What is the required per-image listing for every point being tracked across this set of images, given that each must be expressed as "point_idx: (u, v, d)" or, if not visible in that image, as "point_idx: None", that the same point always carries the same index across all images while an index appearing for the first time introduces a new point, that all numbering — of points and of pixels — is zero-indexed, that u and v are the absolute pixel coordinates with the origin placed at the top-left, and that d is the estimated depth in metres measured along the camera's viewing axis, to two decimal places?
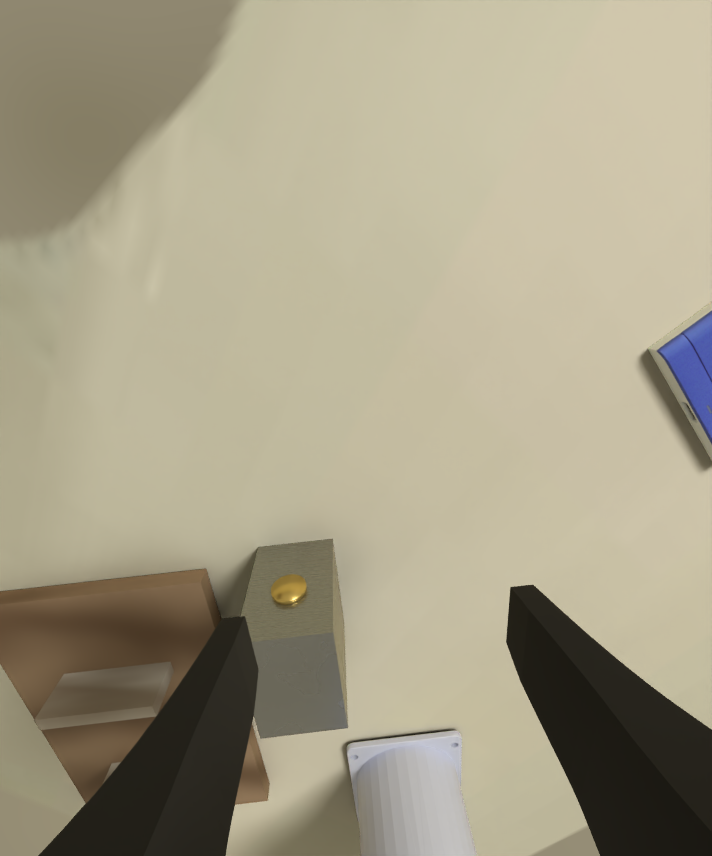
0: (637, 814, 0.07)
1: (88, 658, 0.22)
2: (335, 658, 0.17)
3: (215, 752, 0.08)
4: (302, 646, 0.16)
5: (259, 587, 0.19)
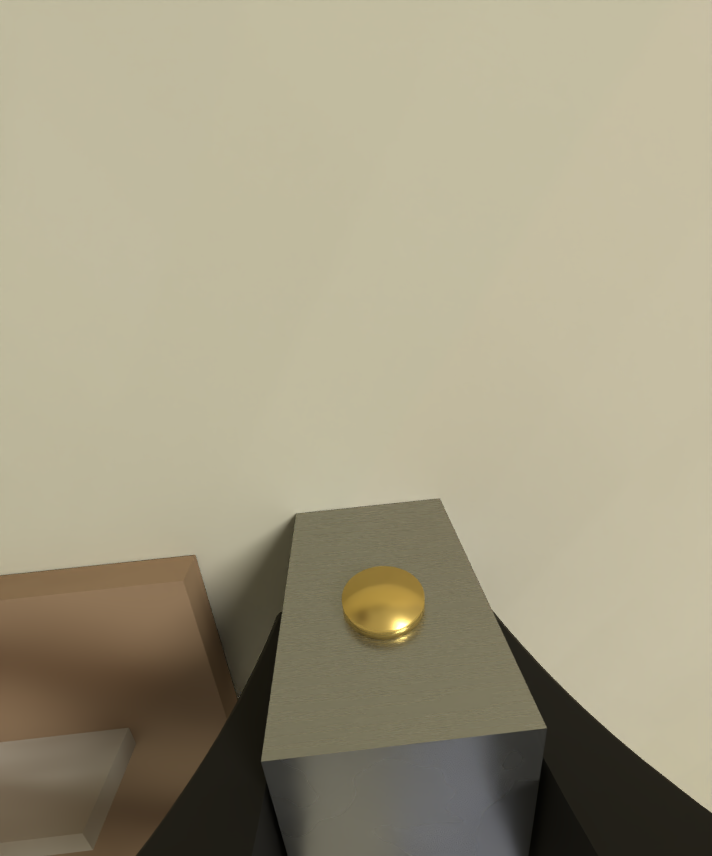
0: (545, 825, 0.07)
1: None
2: (531, 791, 0.06)
3: None
4: (454, 762, 0.06)
5: (311, 595, 0.08)
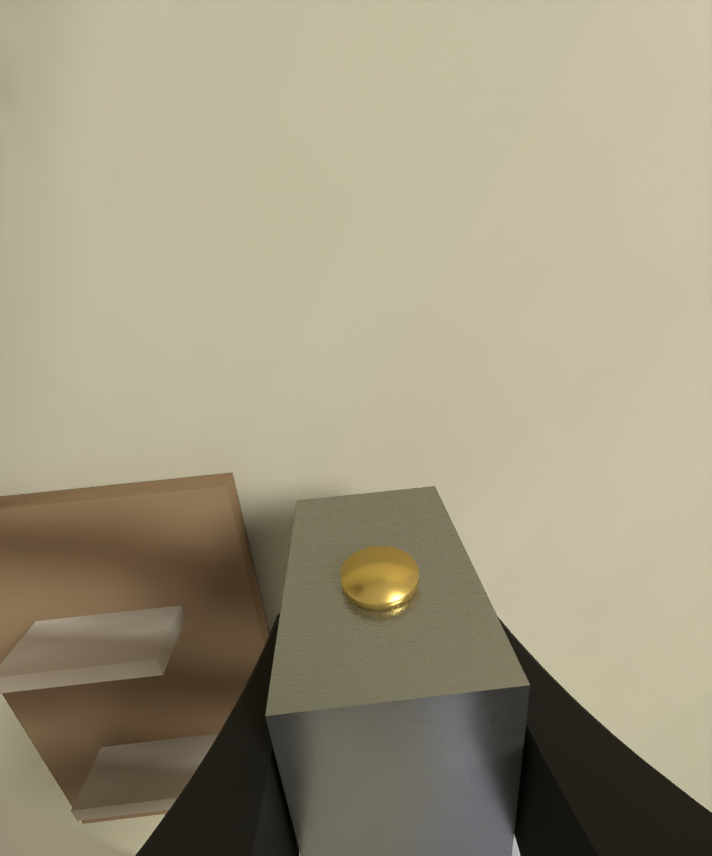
0: (545, 825, 0.07)
1: (68, 599, 0.16)
2: (516, 747, 0.07)
3: None
4: (444, 718, 0.06)
5: (311, 572, 0.09)
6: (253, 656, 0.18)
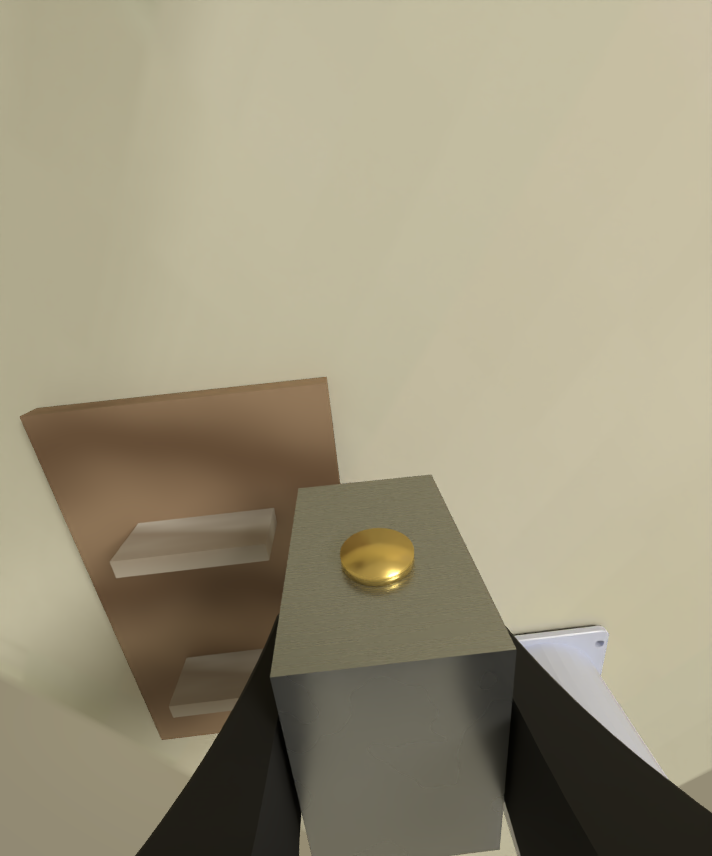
0: (545, 825, 0.07)
1: (171, 500, 0.17)
2: (505, 711, 0.07)
3: None
4: (437, 681, 0.07)
5: (312, 553, 0.09)
6: None
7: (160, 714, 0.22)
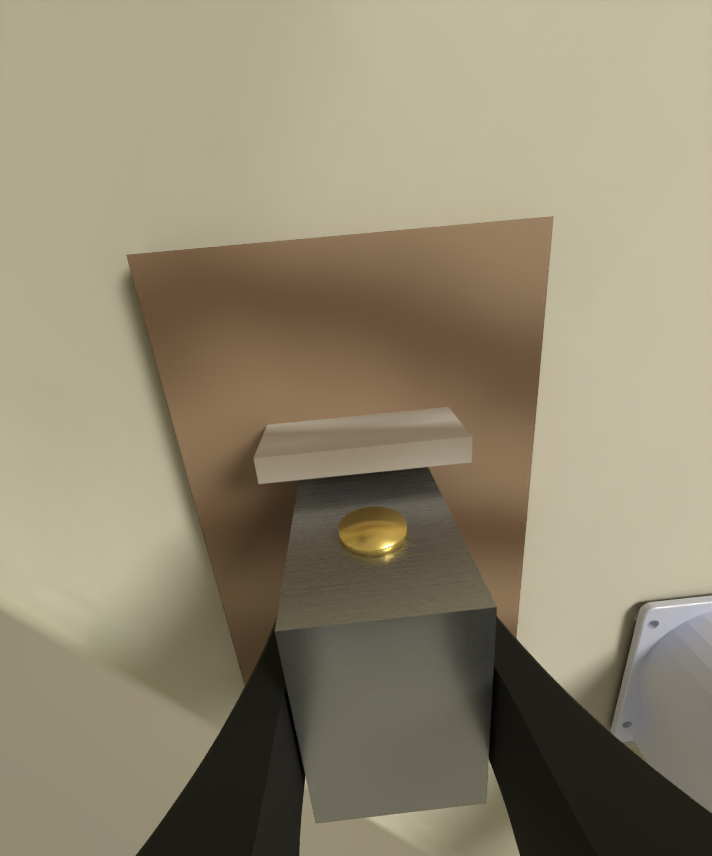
0: (544, 825, 0.07)
1: (315, 391, 0.13)
2: (488, 667, 0.08)
3: (290, 743, 0.08)
4: (426, 637, 0.07)
5: (313, 529, 0.10)
6: (513, 488, 0.15)
7: None
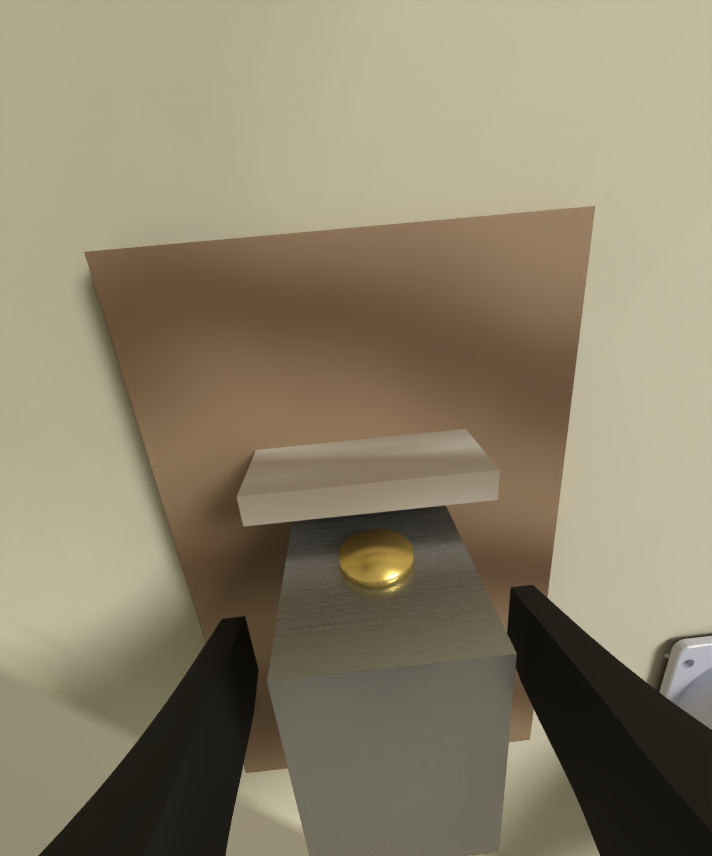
0: (637, 814, 0.07)
1: (311, 412, 0.11)
2: (505, 716, 0.07)
3: (215, 752, 0.08)
4: (436, 686, 0.07)
5: (311, 554, 0.09)
6: (538, 520, 0.13)
7: (249, 738, 0.16)
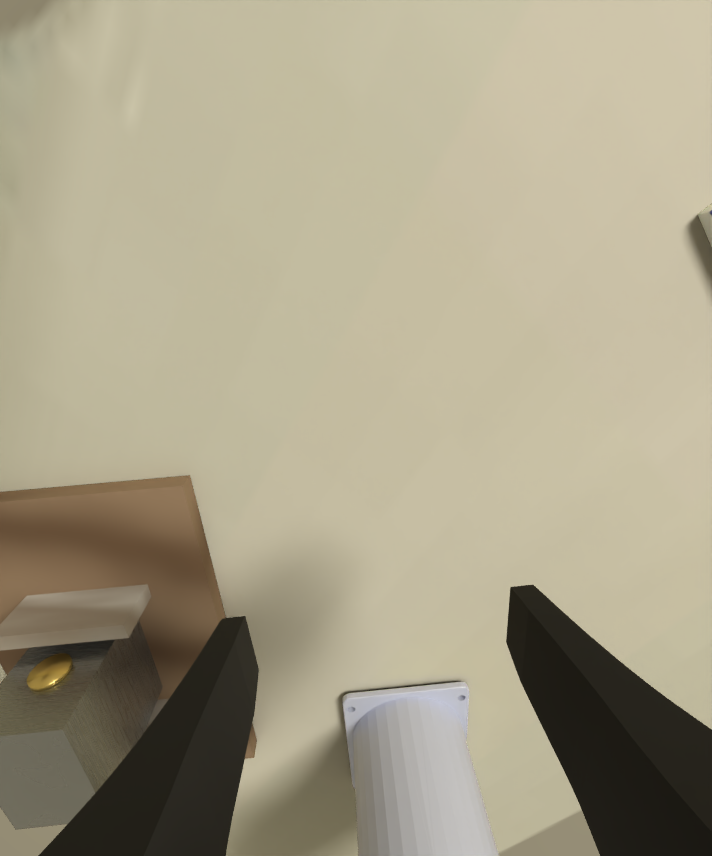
0: (637, 814, 0.07)
1: (54, 577, 0.20)
2: (72, 754, 0.16)
3: (215, 752, 0.08)
4: (32, 742, 0.15)
5: (25, 667, 0.18)
6: (209, 629, 0.22)
7: None
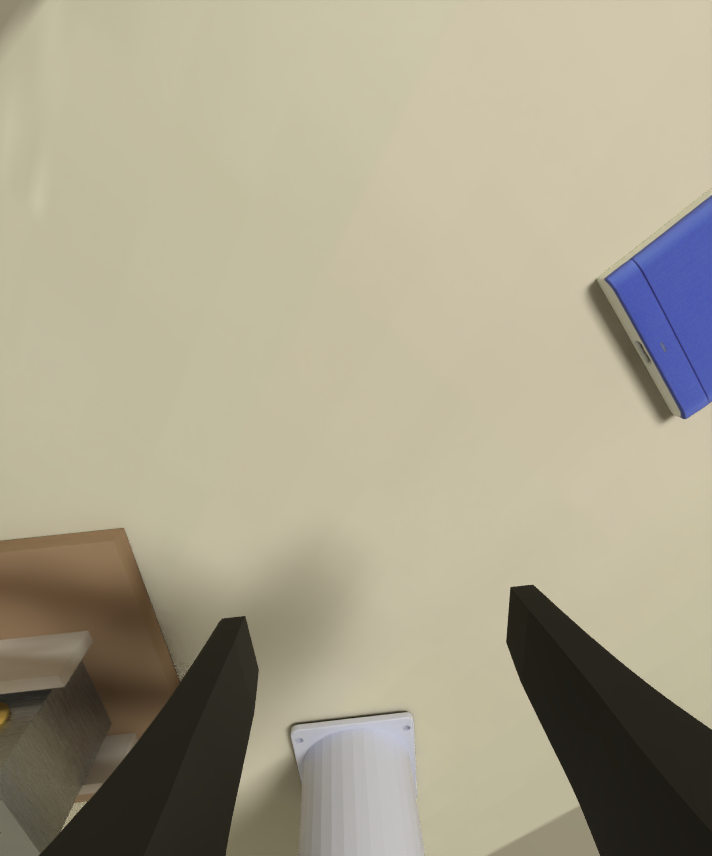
0: (637, 814, 0.07)
1: None
2: (2, 805, 0.17)
3: (215, 752, 0.08)
4: None
5: None
6: (152, 670, 0.23)
7: None
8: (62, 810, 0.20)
